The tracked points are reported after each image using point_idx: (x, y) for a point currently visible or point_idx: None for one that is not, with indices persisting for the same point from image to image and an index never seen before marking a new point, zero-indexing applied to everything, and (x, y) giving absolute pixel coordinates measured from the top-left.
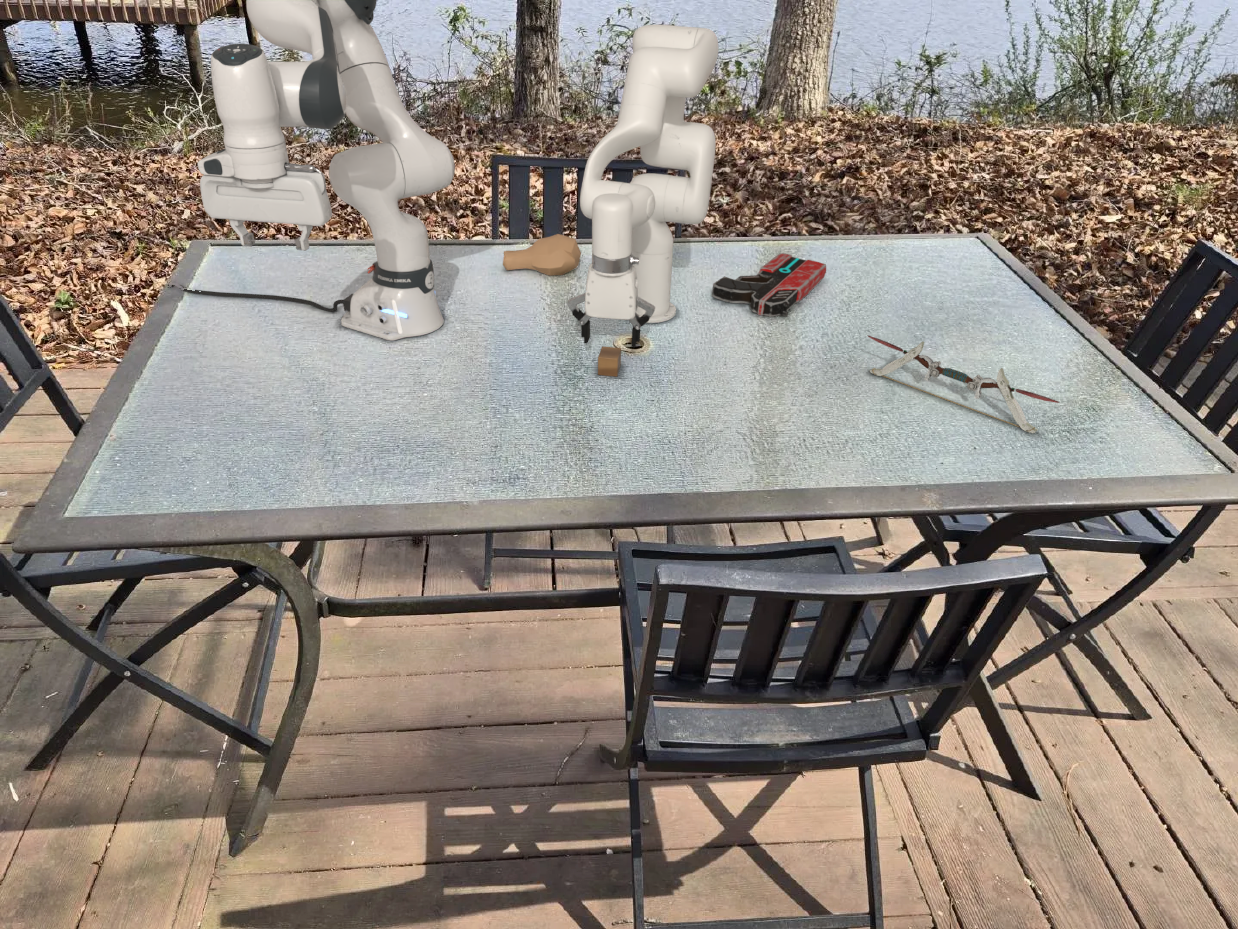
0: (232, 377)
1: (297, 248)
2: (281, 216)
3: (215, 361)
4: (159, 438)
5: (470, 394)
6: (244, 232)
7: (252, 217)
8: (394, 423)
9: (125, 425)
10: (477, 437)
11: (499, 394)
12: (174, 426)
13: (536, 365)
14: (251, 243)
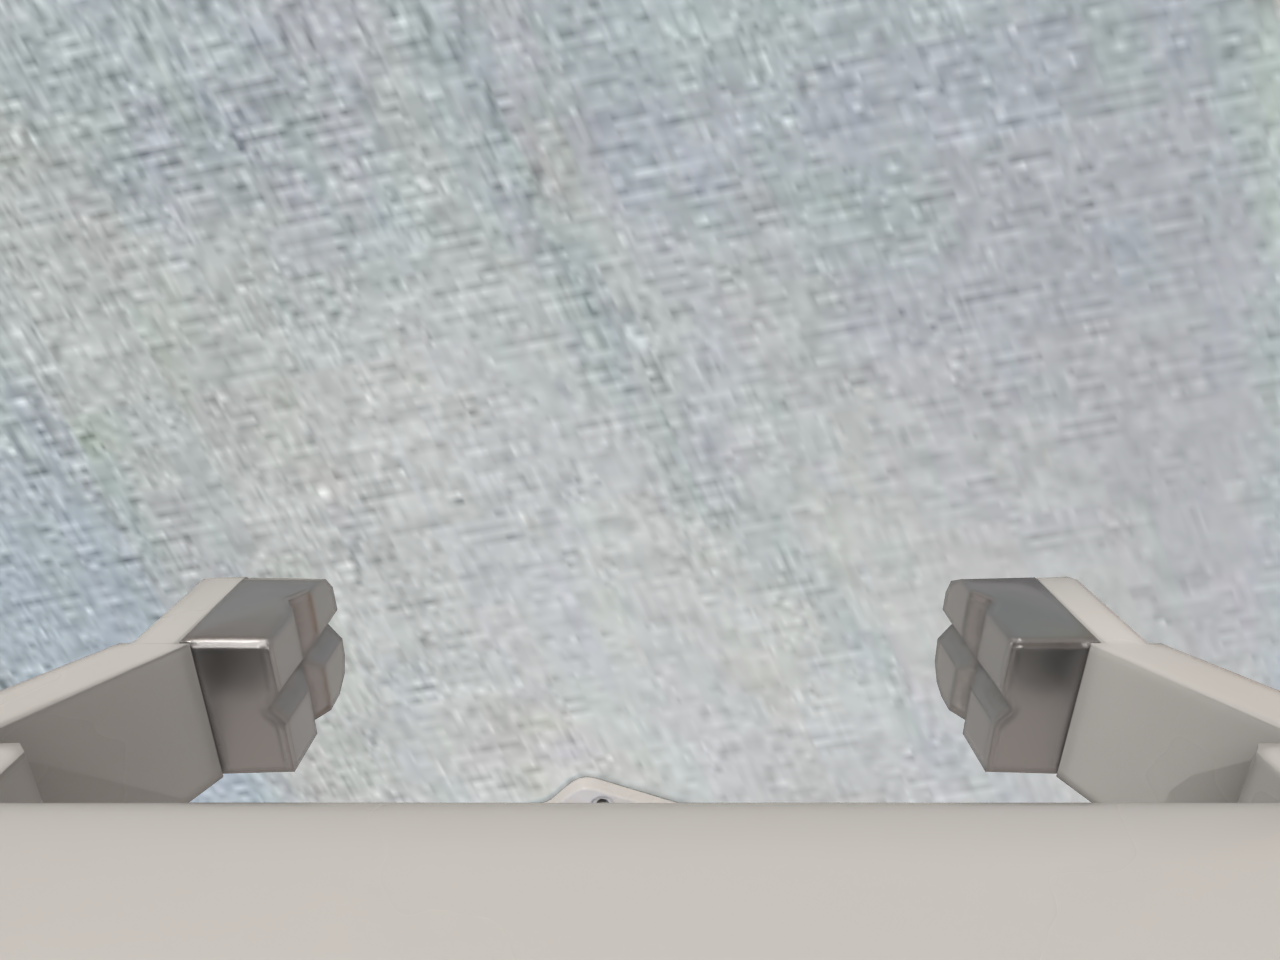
0: (999, 485)
1: (297, 579)
2: (53, 940)
3: (1093, 572)
4: (1110, 25)
5: (184, 518)
6: (1102, 726)
7: (973, 856)
8: (329, 293)
9: (1268, 94)
10: (12, 255)
11: (96, 534)
12: (1084, 123)
13: None
14: (954, 619)
